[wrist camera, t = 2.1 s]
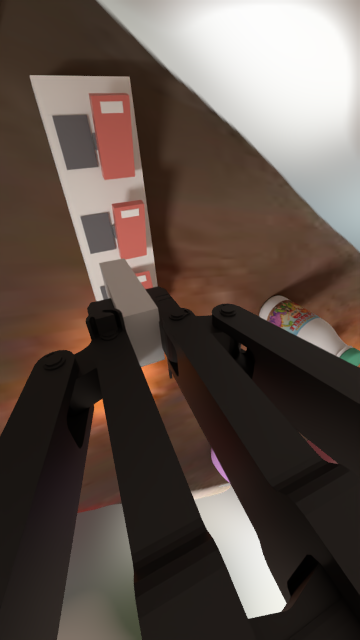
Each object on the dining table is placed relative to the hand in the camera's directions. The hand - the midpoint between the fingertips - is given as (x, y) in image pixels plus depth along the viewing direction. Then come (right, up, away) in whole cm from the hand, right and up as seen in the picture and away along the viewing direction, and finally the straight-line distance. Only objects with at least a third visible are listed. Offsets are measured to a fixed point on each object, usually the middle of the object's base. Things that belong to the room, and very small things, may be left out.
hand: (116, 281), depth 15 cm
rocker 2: (-2, +8, +15) cm, 17 cm away
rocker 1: (-3, +16, +9) cm, 18 cm away
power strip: (-6, +8, +21) cm, 23 cm away
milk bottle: (+25, 0, +42) cm, 49 cm away
